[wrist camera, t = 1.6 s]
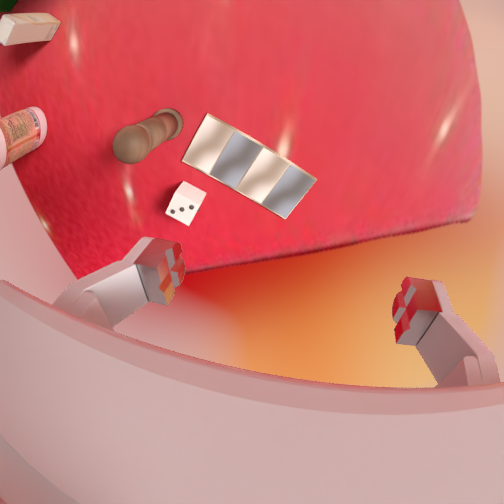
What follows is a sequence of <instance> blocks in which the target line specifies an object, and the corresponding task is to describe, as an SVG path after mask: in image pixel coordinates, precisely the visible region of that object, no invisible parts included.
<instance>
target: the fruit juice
mask: <svg viewBox="0 0 504 504" xmlns="http://www.w3.org/2000/svg"><path fill="white" fill-rule="evenodd" d="M46 134H47V121H46V117H45V115H44V113H43V111H42V110H41V109H40V108H38V107H28V108H25V109H22V110H20V111H17V112H15V113H12V114H10V115H7V116H5V117H3V118H0V170H1V169H3V168H4V167H6V166H7V165H8V164H10V163H12V162H14V161H15V160H17V159H19V158H20V157H22V156H24V155H25V154H27V153H29V152H31V151H33V150H34V149H36V148H38V147H39V146H40V145H41V144H42V143H43V142H44V140H45V138H46Z"/></svg>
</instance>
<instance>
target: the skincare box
mask: <svg viewBox="0 0 504 504" xmlns="http://www.w3.org/2000/svg"><path fill="white" fill-rule="evenodd" d="M60 24H61V22H60V21H59V20H57V19H56V18H55V17H53V16H52V15H50V14H49V13H18V14H5V15H3V16H2V18H1V20H0V43H1V44H3V45H4V46H8V45H14V44H21V43H29V42H39V41H50V40H51V39H52V37H53V36H54V34H55V32H56V31H57V29H58V27H59V25H60Z"/></svg>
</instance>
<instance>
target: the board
mask: <svg viewBox="0 0 504 504" xmlns="http://www.w3.org/2000/svg"><path fill="white" fill-rule="evenodd" d="M182 161H183V162H185V163H186V164H188V165H190V166H192V167H194V168H196V169H198V170H200V171H201V172H203V173H205V174H207V175H209V176H211V177H212V178H214V179H216V180H218V181H220V182H221V183H223V184H225V185H227V186H229V187H230V188H232V189H234V190H236V191H237V192H239V193H241V194H243V195H244V196H246V197H248V198H250V199H251V200H253V201H255V202H257V203H258V204H260V205H262V206H264V207H265V208H267V209H269V210H270V211H272V212H274V213H275V214H277V215H279V216H280V217H282V218H284V219H286V218H287V217H288V215H289V214H290V213H291V212H292V210H293V209H294V208H295V207H296V205H297V204H298V203H299V202H300V200H301V199H302V198H303V197H304V195H305V194H306V193H307V191H308V190H309V189H310V188H311V186H312V185H313V184H314V183H315V181H316V180H317V179H316V178H315V177H314V176H312V175H311V174H309V173H308V172H306V171H305V170H303V169H302V168H300V167H299V166H297V165H296V164H294V163H292V162H291V161H289V160H288V159H286V158H285V157H283V156H281V155H280V154H278V153H277V152H275V151H273V150H272V149H270V148H269V147H267V146H265V145H264V144H262V143H260V142H259V141H257V140H255V139H254V138H252V137H250V136H248V135H247V134H245V133H243V132H241V131H240V130H238V129H236V128H234V127H233V126H231V125H229V124H227V123H225V122H223V121H222V120H220V119H218V118H216V117H214V116H212V115H210V114H208V113H207V115H206V117H205V118H204V120H203V122H202V124H201V126H200V127H199V129H198V131H197V133H196V135H195V136H194V138H193V140H192V142H191V144H190V146H189V148H188V150H187V152H186V154H185V156H184V158H183V160H182Z"/></svg>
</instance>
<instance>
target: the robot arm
mask: <svg viewBox="0 0 504 504" xmlns="http://www.w3.org/2000/svg"><path fill="white" fill-rule="evenodd" d="M181 253H182V247H181V244H180V243H179V242H175V241H169V240H164V239H158V238H151V237H142V238H141V239H140V240H139V241H138V243H137V244H136V245H135V246H134V247H133V248H132V249H131V250H130V252H129V253H128V254H127V255H126V256H125V257H124V259H123V260H122V261H116V262H114V263H112V264H110V265H108V266H106V267H103V268H101V269H99V270H97V271H95V272H93V273H91V274H89V275H87V276H85V277H83V278H81V279H79V280H77V281H75V282H73V283H71V284H69V285H68V286H67V287H66V289H65V290H64V291H63V292H62V293H61V295H60V296H59V297H58V298H57V299H56V301H55V302H54V303H53V304H52V305H51V304H49V303H47V302H44V301H42V300H40V299H38V298H37V297H35V296H32V295H31V294H29V293H27V292H25V291H23V290H21V289H19V288H18V287H16V286H14V285H12V284H11V283H9V282H7V281H5V280H0V504H504V382H500V378H499V374H498V369H497V366H496V362H495V358H494V355H493V354H492V352H491V351H490V350H489V349H488V348H487V346H486V345H485V344H484V343H483V342H482V341H481V340H480V338H479V337H478V336H477V335H476V334H475V333H474V332H473V331H472V329H471V328H470V327H469V326H468V325H467V324H466V323H465V322H464V321H463V320H462V319H461V318H460V317H459V316H458V314H454V313H453V309H452V306H451V303H450V300H449V297H448V294H447V292H446V289H445V287H444V284H443V282H441V281H437V280H425V279H419V278H412V277H406V278H405V279H404V280H403V282H402V284H401V287H402V291H401V292H399V293H398V294H397V295H396V297H395V299H394V302H393V307H392V316H393V320H394V321H395V322H396V323H397V325H396V327H395V329H394V331H395V339H396V344H404V345H414V346H416V348H417V350H418V351H419V353H420V354H421V356H422V358H423V359H424V361H425V362H426V364H427V366H428V367H429V369H430V371H431V372H432V374H433V376H434V377H435V379H436V381H437V383H438V385H437V386H436V387H434V388H393V387H370V386H357V385H344V384H334V383H325V382H317V381H309V380H302V379H295V378H289V377H283V376H277V375H271V374H265V373H260V372H255V371H250V370H245V369H240V368H236V367H232V366H227V365H223V364H218V363H215V362H210V361H207V360H203V359H199V358H195V357H191V356H188V355H184V354H181V353H177V352H174V351H170V350H167V349H163V348H161V347H158V346H154V345H151V344H148V343H145V342H142V341H139V340H136V339H134V338H130V337H128V336H125V335H122V334H120V333H117V332H115V331H114V330H113V328H112V327H113V326H115V325H117V324H118V323H119V322H121V321H122V320H124V319H125V318H127V317H128V316H129V315H131V314H132V313H134V312H135V311H137V310H138V309H139V308H141V307H142V306H144V305H145V304H147V303H148V301H149V302H153V303H158V304H162V305H168V304H169V303H170V301H171V299H172V297H173V295H174V294H175V292H174V288H175V287H177V286H179V285H180V283H181V282H182V280H183V277H184V274H185V263H184V260H183V259H182V258H181V257H180V255H181Z"/></svg>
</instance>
